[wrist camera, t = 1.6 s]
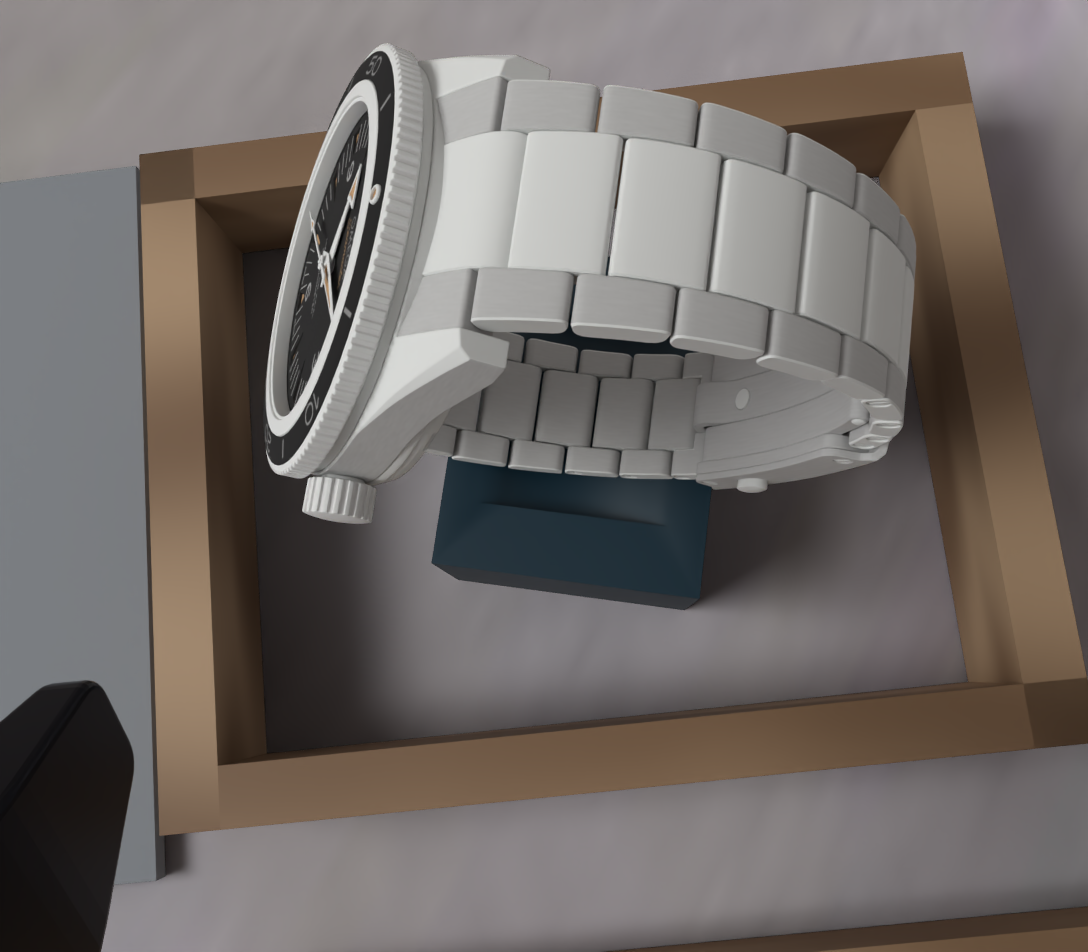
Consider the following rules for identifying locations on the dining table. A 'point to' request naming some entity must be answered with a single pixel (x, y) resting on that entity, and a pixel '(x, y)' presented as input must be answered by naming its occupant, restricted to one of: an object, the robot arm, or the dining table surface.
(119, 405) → the felt mat
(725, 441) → the watch
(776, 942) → the lid
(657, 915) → the dining table surface
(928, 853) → the dining table surface
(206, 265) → the wooden rectangular frame
